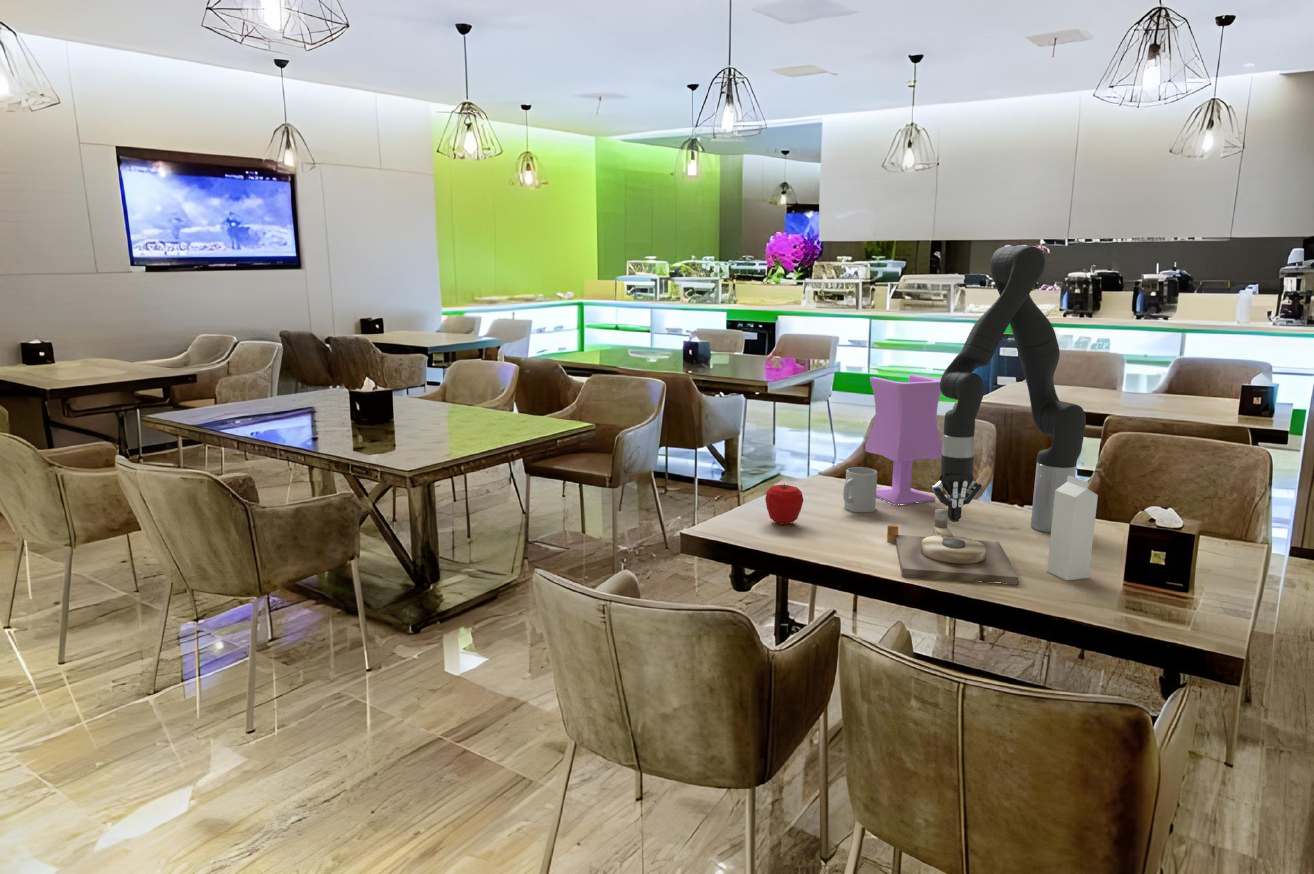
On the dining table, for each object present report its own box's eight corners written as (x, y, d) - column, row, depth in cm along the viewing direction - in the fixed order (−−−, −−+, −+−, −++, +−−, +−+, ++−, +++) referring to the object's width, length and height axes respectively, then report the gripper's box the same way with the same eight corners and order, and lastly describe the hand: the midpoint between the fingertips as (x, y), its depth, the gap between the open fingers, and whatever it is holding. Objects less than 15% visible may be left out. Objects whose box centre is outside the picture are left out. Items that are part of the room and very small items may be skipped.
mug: (855, 502, 243) (857, 465, 241) (881, 508, 237) (883, 470, 235) (830, 510, 235) (832, 472, 233) (857, 517, 229) (859, 478, 227)
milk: (1066, 581, 184) (1076, 483, 179) (1046, 571, 190) (1055, 476, 185) (1089, 578, 186) (1100, 480, 181) (1068, 568, 191) (1078, 474, 187)
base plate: (996, 546, 206) (998, 530, 205) (1017, 585, 181) (1019, 567, 181) (886, 538, 211) (887, 523, 211) (892, 575, 187) (893, 558, 186)
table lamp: (906, 488, 258) (914, 374, 251) (940, 501, 244) (949, 381, 237) (862, 493, 253) (869, 376, 246) (894, 507, 239) (902, 384, 232)
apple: (764, 527, 220) (765, 487, 217) (764, 517, 229) (765, 478, 227) (803, 529, 218) (804, 488, 216) (801, 518, 228) (803, 479, 226)
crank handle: (992, 565, 187) (995, 539, 186) (927, 562, 189) (929, 537, 188) (967, 533, 209) (969, 510, 208) (909, 531, 211) (911, 508, 210)
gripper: (974, 447, 210) (970, 514, 214) (925, 451, 208) (921, 518, 212) (991, 454, 203) (986, 523, 207) (940, 458, 201) (936, 527, 204)
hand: (953, 520), depth 209 cm, fingers closed
